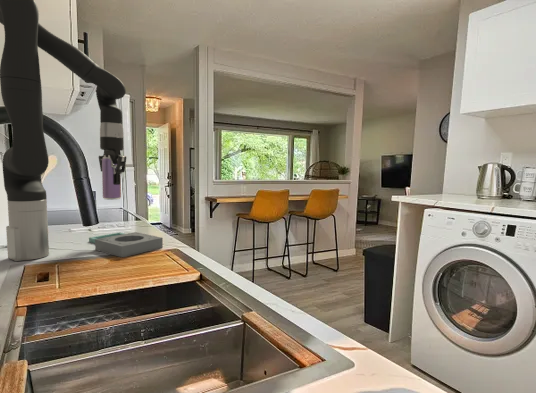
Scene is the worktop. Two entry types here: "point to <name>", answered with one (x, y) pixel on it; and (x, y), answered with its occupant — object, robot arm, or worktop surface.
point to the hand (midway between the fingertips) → (112, 183)
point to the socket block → (128, 244)
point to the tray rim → (103, 236)
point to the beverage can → (109, 181)
